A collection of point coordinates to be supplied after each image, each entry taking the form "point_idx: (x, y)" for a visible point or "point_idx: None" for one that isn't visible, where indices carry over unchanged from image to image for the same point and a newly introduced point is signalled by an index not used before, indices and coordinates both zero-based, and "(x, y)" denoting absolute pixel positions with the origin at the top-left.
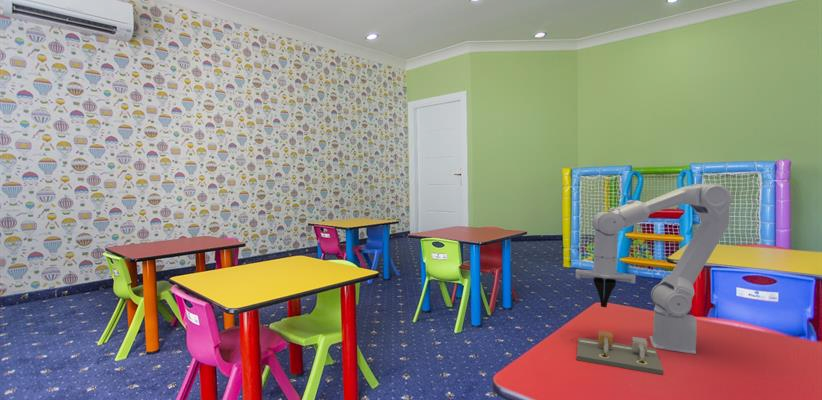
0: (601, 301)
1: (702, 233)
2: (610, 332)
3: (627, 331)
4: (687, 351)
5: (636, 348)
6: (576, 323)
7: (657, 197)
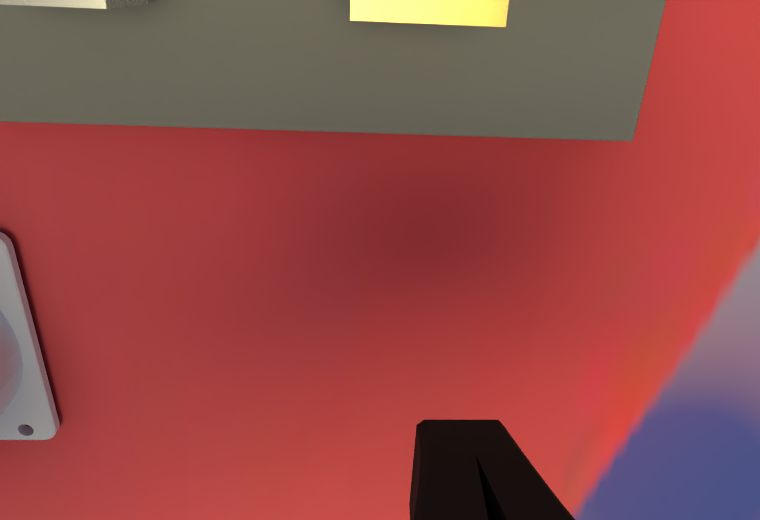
0: (530, 478)
1: None
2: (366, 18)
3: (216, 492)
4: None
5: None
6: None
7: None
